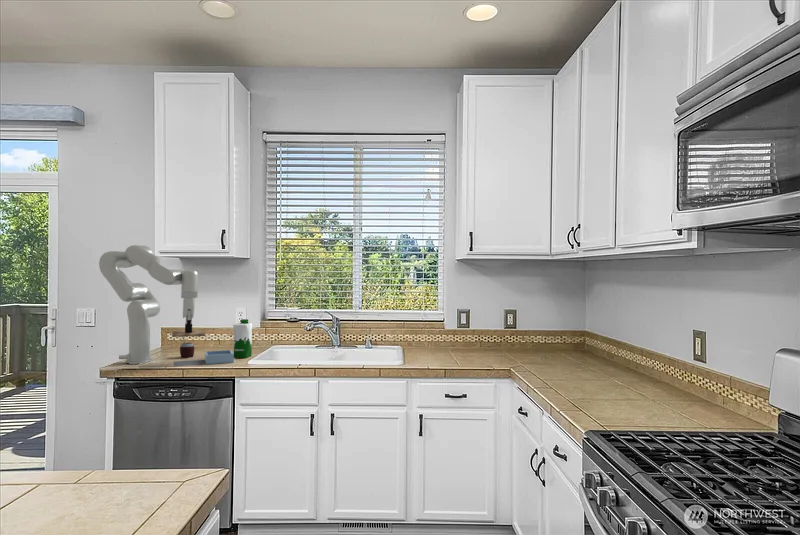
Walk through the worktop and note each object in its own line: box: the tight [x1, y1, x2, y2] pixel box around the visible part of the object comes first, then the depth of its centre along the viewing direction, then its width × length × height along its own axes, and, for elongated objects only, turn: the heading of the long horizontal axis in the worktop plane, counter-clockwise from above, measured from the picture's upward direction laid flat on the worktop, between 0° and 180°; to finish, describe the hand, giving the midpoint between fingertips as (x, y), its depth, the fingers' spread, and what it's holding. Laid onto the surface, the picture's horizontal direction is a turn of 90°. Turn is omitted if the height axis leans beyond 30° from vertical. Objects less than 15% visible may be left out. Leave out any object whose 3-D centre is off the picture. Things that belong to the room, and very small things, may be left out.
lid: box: [171, 329, 206, 338], centre depth 256 cm, size 15×15×6 cm
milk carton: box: [232, 318, 253, 359], centre depth 277 cm, size 9×9×20 cm
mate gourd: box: [177, 329, 195, 359], centre depth 272 cm, size 8×8×15 cm
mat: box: [173, 359, 206, 367], centre depth 256 cm, size 14×14×1 cm
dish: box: [204, 349, 235, 365], centre depth 261 cm, size 13×13×5 cm
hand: (188, 331), depth 256 cm, fingers closed on lid, 2 cm apart
